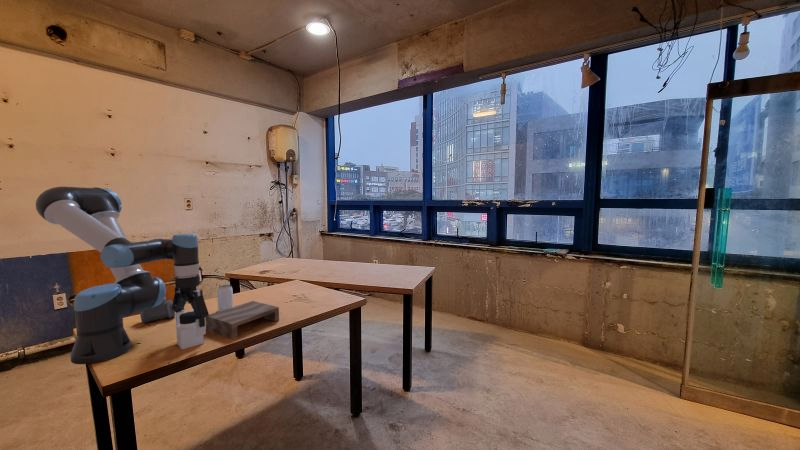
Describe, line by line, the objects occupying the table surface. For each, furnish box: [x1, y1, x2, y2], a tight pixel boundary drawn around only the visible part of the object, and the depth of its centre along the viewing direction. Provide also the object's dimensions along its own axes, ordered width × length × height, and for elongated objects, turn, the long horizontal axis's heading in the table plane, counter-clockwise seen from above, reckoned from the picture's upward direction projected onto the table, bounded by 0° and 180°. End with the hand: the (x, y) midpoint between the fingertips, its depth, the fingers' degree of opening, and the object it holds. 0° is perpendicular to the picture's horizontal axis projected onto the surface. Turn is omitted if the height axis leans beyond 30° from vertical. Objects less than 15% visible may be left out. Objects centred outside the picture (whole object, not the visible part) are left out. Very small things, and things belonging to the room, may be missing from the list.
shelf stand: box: [205, 300, 280, 340], centre depth 133 cm, size 18×22×6 cm
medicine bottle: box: [175, 310, 205, 351], centre depth 115 cm, size 7×7×12 cm
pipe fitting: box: [139, 296, 176, 324], centre depth 138 cm, size 12×8×10 cm, turn 133°
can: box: [216, 284, 234, 312], centre depth 151 cm, size 6×6×12 cm
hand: (190, 331), depth 115 cm, fingers open, 13 cm apart
